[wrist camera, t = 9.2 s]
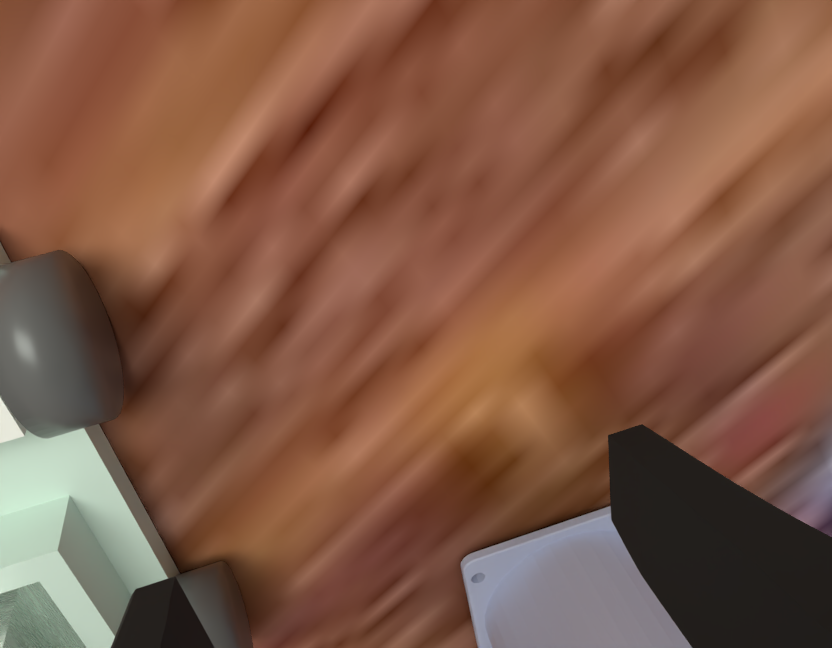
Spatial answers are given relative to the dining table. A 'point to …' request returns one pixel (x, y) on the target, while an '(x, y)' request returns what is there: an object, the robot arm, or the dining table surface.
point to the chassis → (79, 464)
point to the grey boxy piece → (34, 620)
